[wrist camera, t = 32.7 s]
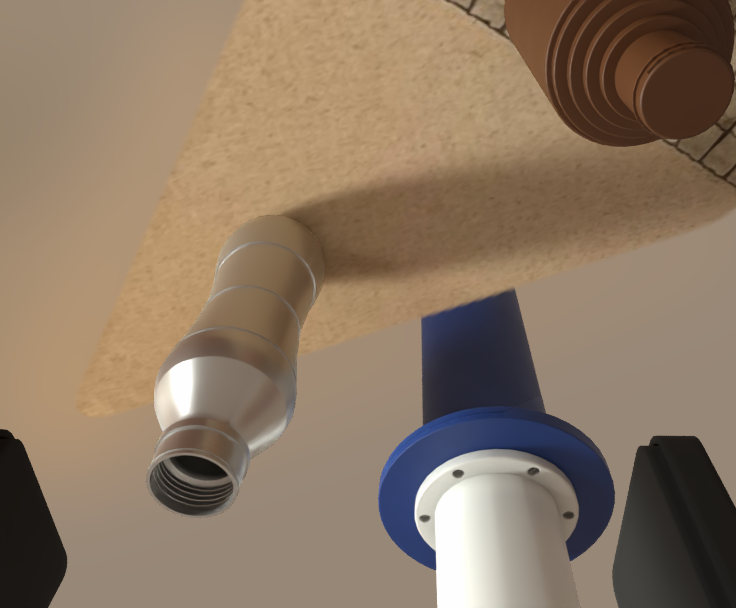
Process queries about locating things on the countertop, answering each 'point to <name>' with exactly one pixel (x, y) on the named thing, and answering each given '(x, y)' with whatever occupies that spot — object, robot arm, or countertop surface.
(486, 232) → the countertop surface
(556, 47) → the sauce bottle
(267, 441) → the silver water bottle
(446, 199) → the countertop surface
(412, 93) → the countertop surface
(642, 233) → the countertop surface
